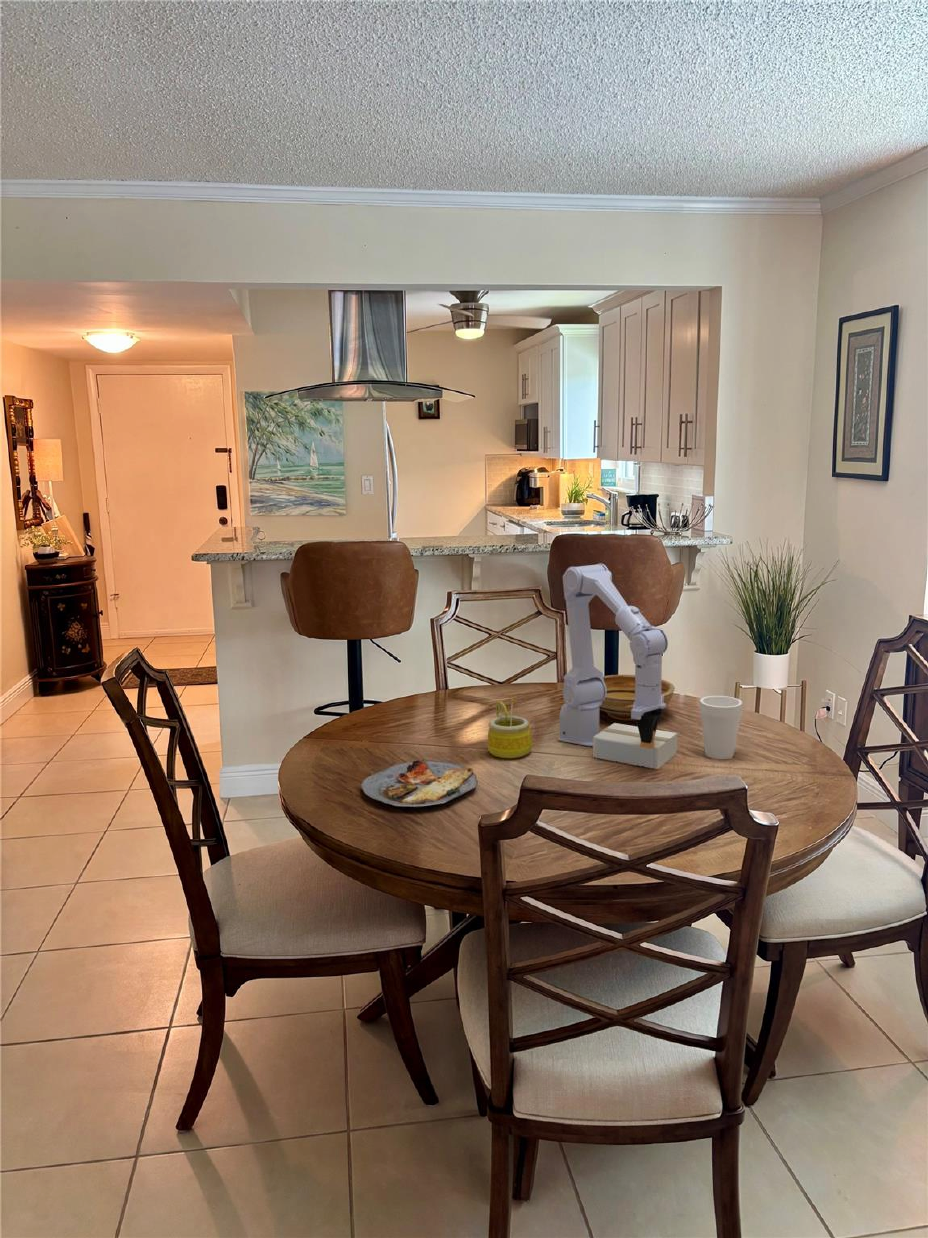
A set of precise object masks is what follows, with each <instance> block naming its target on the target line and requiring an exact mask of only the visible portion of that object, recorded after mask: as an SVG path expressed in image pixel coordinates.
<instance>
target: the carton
mask: <svg viewBox="0 0 928 1238" xmlns="http://www.w3.org/2000/svg"><path fill="white" fill-rule="evenodd" d="M597 738H599V739H604V740H610V741H616V742H622V743H627V744H633V745H639V746H640V740H641V738H640V734H639V730H638V726H635V725H628V724H623V723H622V724H621V723H618V722H617V723H616V722H614V723H612V724H611V725H609V726H607V727H605V728H603V729H602V730H601V731H599V733H598V734H597V735H595V736H594V737H593V746H592V758H594V757H595V759H597V758H596V739H597ZM677 738H678V733H677V732H672V731H667V730H666V731H665V730H659V729H656V733H655V738H654V770H658V769H660V768H661V767H662V766H664V765H665V764H666V763H667V762H668V761H669V760H671V758H673V757H674V756H675V755H677V752H678V751H677V749H678V748H677V746H678V745H677V743H678V741H677V740H678V739H677ZM599 759H601V758H599ZM601 760H602V759H601ZM604 761H608V760H607V759H604ZM609 761H610V762H611V761H612V760H609ZM612 762H613V761H612ZM620 763H622V764H624V763H623V762H620ZM627 765H629V764H628V763H627ZM631 765H632V766H633V764H631Z"/></svg>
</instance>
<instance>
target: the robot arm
mask: <svg viewBox="0 0 928 1238" xmlns="http://www.w3.org/2000/svg"><path fill="white" fill-rule="evenodd" d="M562 584H563V585H562V586H563V595H564V600H565V603H566V605H565V606H566V613H567V614H566V615H567V623H568V625H567V626H568V633H569V634H568V636H569V645H570V646H569V647H570V657H571V665H572V667H571V669H570V670H569V671H568V672H567V673H566V674H565V675H564V676H563V687H562V698H563V700H564V702H565V703H564V704H563V705H562V706H561V708H560V711H559V737H558V741H559V742H564V743H571V744H575V745H580V746H586V747H593V737H594V736H595V735H597V734H598V733H600V709H599V706H601V705H602V701H603V700H604V699H605V698H606V694H607V688H606V685H605V683H604V680H603V676H604V674H603V672H602V671H601V670H600V669H598V668H597V667H595V661H594V653H593V641H592V631H591V621H590V608H589V603H590V602H591V601H592V599H593V598H594V597H595V596H598V598H599V599H600V600H601V601H602V602H603V603H604V604H605V605H606V606H607V607H608V608H609V609H610V610H611V611H612V612H613V614H614V615H615V619H614V621H615V624H616V625H617V626H618V628H619V629H620V630H621V631H622V632H623V634H624V635H625V637H626V638H627V639H628V640H629V648H630V652H631V654H632V661H633V664H635V665H634V668H635V669H634V670H635V672H634V675H635V701H634V705H633V709H632V710H631V719H634V720H633V721H634V722H635V724H636V725H637V726H636V727H638V730H639V734H640V738H641V742H644V743H651V741H652V737H653V731H655V733H656V730H658V729H657V728H658V725H659V722H660V720H661V719H662V716H663V714H664V709H665V708H666V707H667V706H666V704H665V703H664V695H662V694H661V679H662V676H663V675H662V674H663V673H662V671H663V670H662V669H663V668H662V666H663V665H662V663H663V654H665V653H666V651H667V650H668V646H669V642H668V641H669V640H668V636H667V635H666V633H665V632H664V630H663V629H662V628H660V627H656V626H654V625H651V623H649V621H648V620H647V619H646V618H645V616H644V615H643V614H642V613H641V612H640V609H639V608H638V607H636V606H634V605H628V603H627V602H626V600H625V599H624V598H623V596H622V595H621V593H620V592H619V590H618V589H617V588H616V586H615V584H614V583H613V574H612V572H611V571H610V570H609V569H608V567H607V565H605V564H604V563H597V564H590V565H580V566H570V567H568V568H567V569H566V570H565V572H564V573H563V575H562ZM658 708H663V709H658Z"/></svg>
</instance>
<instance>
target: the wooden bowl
mask: <svg viewBox="0 0 928 1238" xmlns="http://www.w3.org/2000/svg"><path fill="white" fill-rule="evenodd" d="M603 680H604V683H605V685H606V688H607V694H606V698H605V699H604V700H603V701H602V705H601V706H599V711H602V712H605V713H607V715H608V716H609V717H610V718H612V719H616V720H618V721H619V720H621V721H635V720H634V719H631V710H632V709H633V705H634V701H635V674H615V675H614V674H611V675H610V674H609V675H605V676H604V675H603ZM675 689H676V688H675V685H673V683H672V682H670V681H668V680H665V679H663V678H661V694H662V695H664V703H665V704H666V707H667V706H668V705H669V704H670V702H671V700H672V698H673V695H674V692H675ZM658 709H663V710H664V708H658Z"/></svg>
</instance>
